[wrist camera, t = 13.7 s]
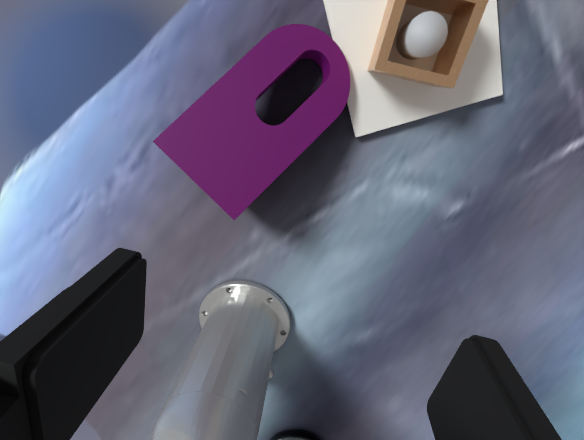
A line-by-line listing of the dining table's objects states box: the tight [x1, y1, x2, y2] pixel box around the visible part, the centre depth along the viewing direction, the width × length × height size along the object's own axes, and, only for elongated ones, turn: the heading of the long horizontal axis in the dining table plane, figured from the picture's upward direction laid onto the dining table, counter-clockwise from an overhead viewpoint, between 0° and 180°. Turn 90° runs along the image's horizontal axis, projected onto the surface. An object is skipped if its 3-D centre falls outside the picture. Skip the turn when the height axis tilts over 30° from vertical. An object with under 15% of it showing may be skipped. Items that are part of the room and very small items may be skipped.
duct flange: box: [323, 0, 503, 137], centre depth 28 cm, size 14×14×5 cm
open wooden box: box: [367, 0, 489, 88], centre depth 27 cm, size 7×7×5 cm
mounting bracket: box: [153, 24, 350, 220], centre depth 33 cm, size 9×8×18 cm
